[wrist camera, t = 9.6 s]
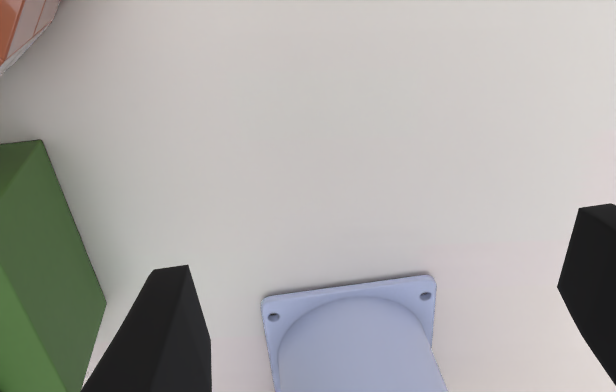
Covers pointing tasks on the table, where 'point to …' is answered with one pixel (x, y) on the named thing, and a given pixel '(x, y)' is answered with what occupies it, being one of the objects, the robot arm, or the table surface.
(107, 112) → the table surface
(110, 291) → the table surface
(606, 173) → the table surface
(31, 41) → the bowl
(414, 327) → the robot arm
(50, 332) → the green block
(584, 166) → the table surface
